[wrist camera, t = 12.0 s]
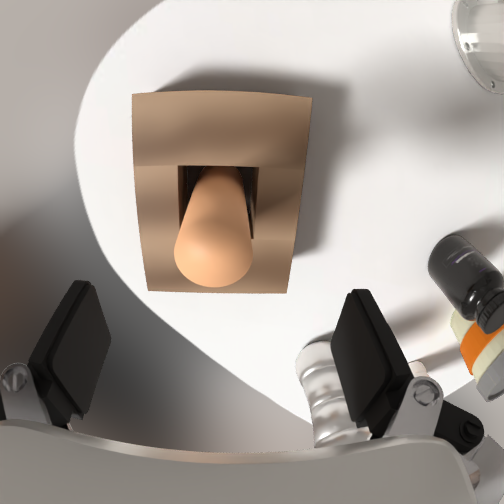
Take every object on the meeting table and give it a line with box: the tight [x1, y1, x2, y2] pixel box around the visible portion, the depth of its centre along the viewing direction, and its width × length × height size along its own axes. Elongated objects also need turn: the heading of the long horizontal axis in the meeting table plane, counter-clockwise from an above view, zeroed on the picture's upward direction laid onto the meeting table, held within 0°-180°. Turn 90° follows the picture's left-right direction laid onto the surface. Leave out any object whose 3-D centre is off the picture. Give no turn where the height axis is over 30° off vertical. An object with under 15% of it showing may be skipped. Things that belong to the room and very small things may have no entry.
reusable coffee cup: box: [450, 309, 504, 402], centre depth 31 cm, size 13×12×15 cm
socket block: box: [132, 90, 313, 293], centre depth 23 cm, size 16×12×5 cm
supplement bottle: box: [428, 235, 504, 335], centre depth 26 cm, size 7×7×12 cm
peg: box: [174, 165, 253, 287], centre depth 20 cm, size 4×4×12 cm
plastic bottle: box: [296, 341, 370, 449], centre depth 29 cm, size 6×7×20 cm
